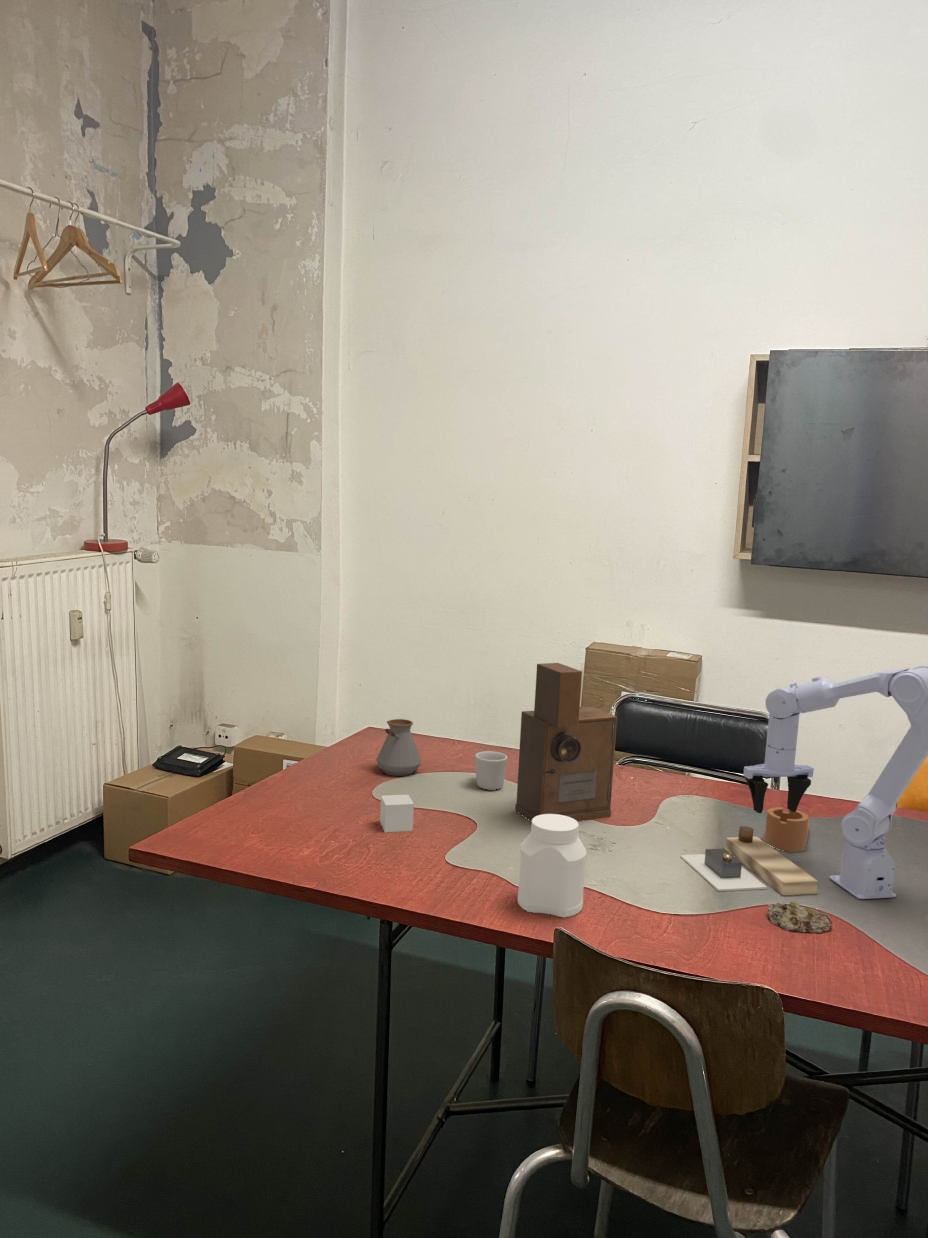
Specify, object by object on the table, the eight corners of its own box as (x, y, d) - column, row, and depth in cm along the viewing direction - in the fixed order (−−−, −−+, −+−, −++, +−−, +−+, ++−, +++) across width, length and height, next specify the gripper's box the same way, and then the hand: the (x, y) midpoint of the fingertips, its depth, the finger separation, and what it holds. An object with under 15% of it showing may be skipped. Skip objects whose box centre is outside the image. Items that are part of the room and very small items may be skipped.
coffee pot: (382, 762, 237) (384, 706, 235) (425, 766, 236) (427, 710, 234) (360, 788, 217) (362, 727, 214) (407, 793, 215) (409, 731, 213)
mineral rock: (765, 916, 155) (770, 886, 162) (762, 936, 156) (767, 906, 163) (833, 932, 151) (834, 901, 158) (829, 952, 153) (831, 921, 159)
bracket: (804, 856, 188) (807, 824, 187) (762, 848, 191) (765, 816, 191) (809, 828, 205) (812, 798, 204) (770, 821, 208) (773, 792, 207)
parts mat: (766, 889, 171) (767, 887, 170) (718, 891, 168) (718, 889, 168) (725, 855, 186) (725, 853, 186) (680, 857, 184) (680, 855, 184)
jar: (512, 910, 157) (517, 827, 155) (522, 887, 166) (527, 809, 164) (579, 920, 154) (585, 836, 152) (585, 896, 164) (591, 817, 162)
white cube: (412, 831, 191) (413, 804, 190) (384, 832, 190) (385, 805, 189) (407, 821, 197) (408, 794, 196) (379, 822, 195) (380, 795, 195)
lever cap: (740, 877, 174) (742, 858, 174) (721, 878, 173) (723, 859, 173) (722, 862, 181) (724, 844, 180) (704, 863, 180) (705, 845, 180)
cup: (463, 780, 226) (464, 749, 225) (491, 777, 230) (493, 746, 228) (482, 794, 217) (483, 761, 215) (511, 790, 220) (513, 758, 219)
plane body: (816, 893, 169) (819, 868, 169) (782, 895, 168) (785, 870, 167) (755, 847, 191) (757, 825, 190) (724, 849, 189) (726, 826, 189)
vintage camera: (547, 833, 193) (557, 672, 188) (515, 811, 206) (523, 659, 201) (621, 823, 202) (632, 668, 197) (585, 802, 214) (595, 656, 209)
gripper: (802, 740, 188) (795, 803, 190) (738, 741, 185) (732, 805, 187) (822, 750, 181) (815, 815, 183) (756, 751, 178) (750, 817, 180)
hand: (774, 811), depth 185 cm, fingers open, 7 cm apart
